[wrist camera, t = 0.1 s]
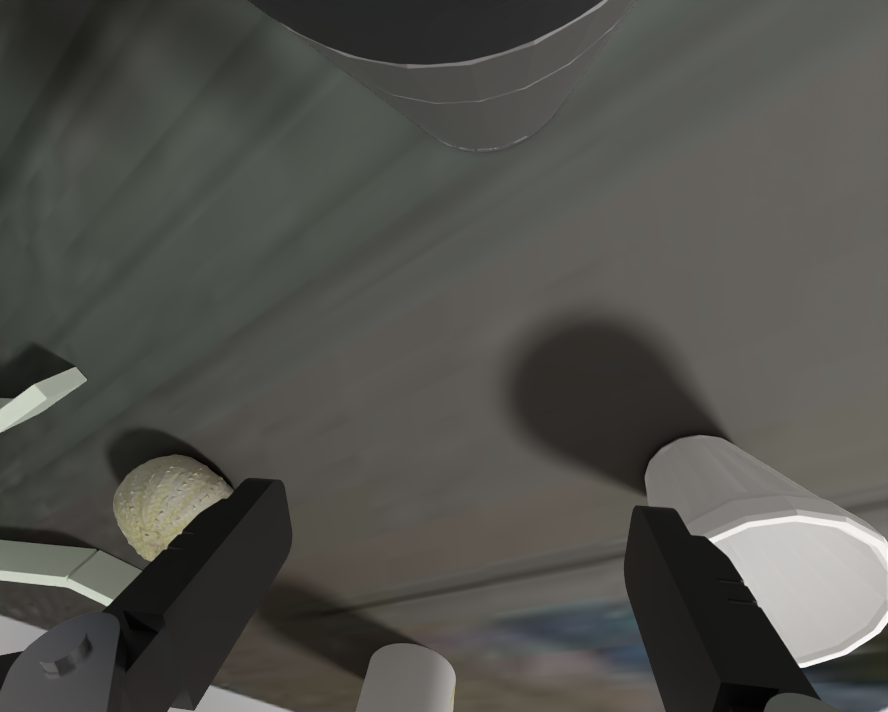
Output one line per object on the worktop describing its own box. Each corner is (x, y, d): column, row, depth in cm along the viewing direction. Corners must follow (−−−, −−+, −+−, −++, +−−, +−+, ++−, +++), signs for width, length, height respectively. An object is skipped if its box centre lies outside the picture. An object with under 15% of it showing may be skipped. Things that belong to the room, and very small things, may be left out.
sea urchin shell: (138, 555, 35) (52, 560, 28) (175, 460, 38) (107, 441, 31) (242, 574, 34) (181, 584, 27) (271, 474, 37) (224, 458, 30)
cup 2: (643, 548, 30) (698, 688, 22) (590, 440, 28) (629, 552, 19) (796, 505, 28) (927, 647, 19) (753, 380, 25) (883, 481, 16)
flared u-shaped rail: (-123, 359, 33) (-180, 375, 30) (82, 366, 31) (41, 384, 28) (-6, 569, 41) (-42, 597, 39) (163, 587, 39) (137, 618, 36)
